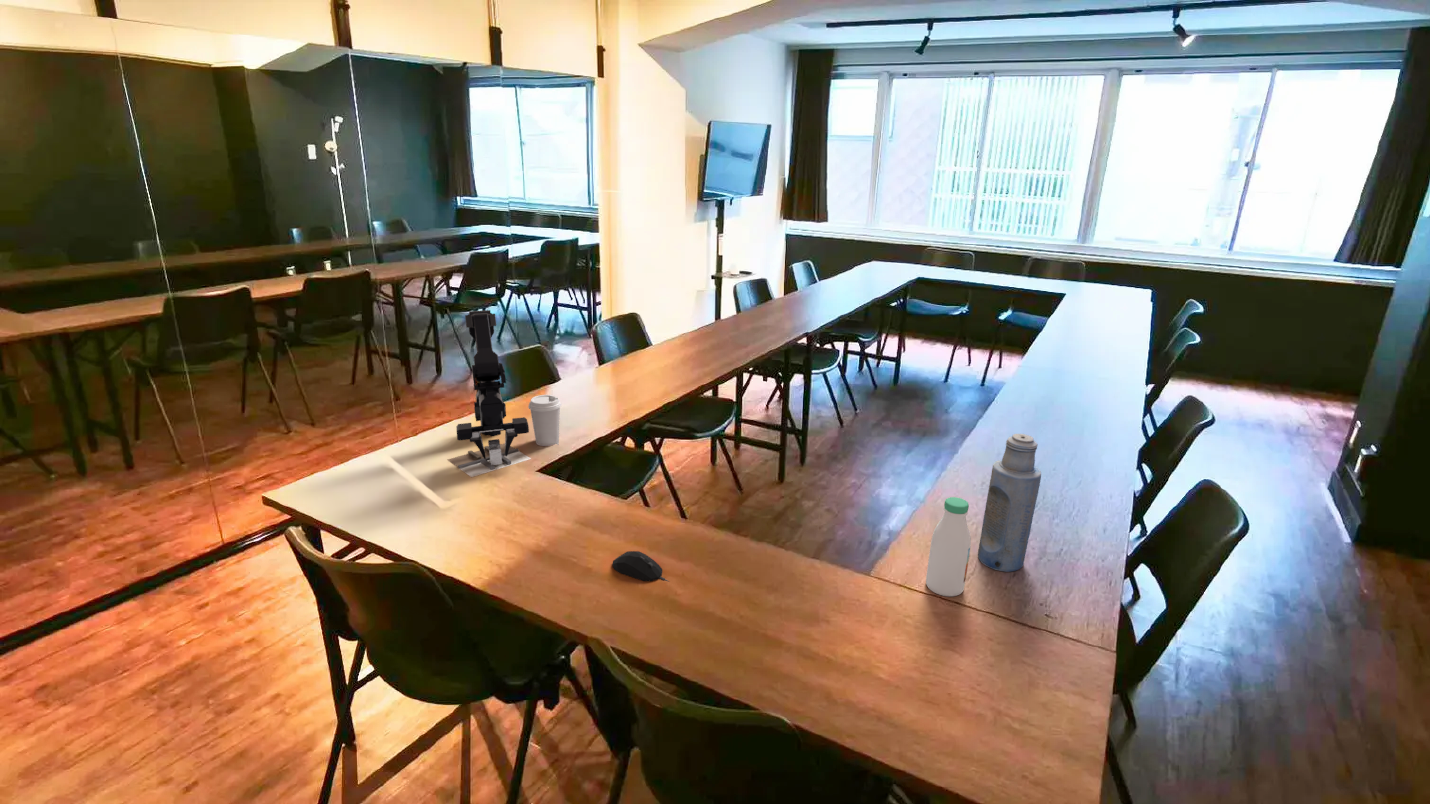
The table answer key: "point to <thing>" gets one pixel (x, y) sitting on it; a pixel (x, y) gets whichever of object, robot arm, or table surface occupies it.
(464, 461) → the ribbed grey tray
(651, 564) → the gaming mouse
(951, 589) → the milk bottle
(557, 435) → the coffee cup
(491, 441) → the white rectangular block
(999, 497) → the bottle
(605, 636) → the table surface
